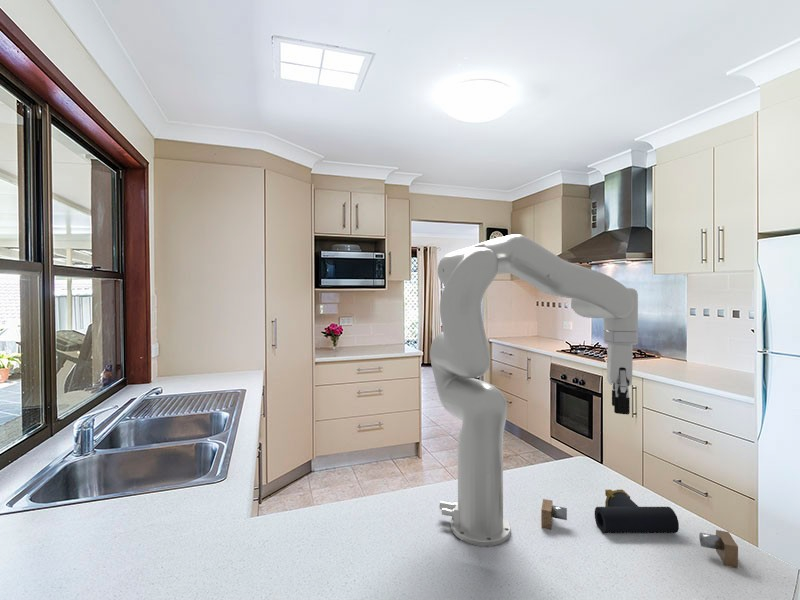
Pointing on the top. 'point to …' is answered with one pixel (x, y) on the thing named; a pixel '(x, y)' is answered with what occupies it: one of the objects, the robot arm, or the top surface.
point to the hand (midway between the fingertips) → (620, 409)
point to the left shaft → (551, 514)
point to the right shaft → (722, 546)
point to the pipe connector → (633, 516)
